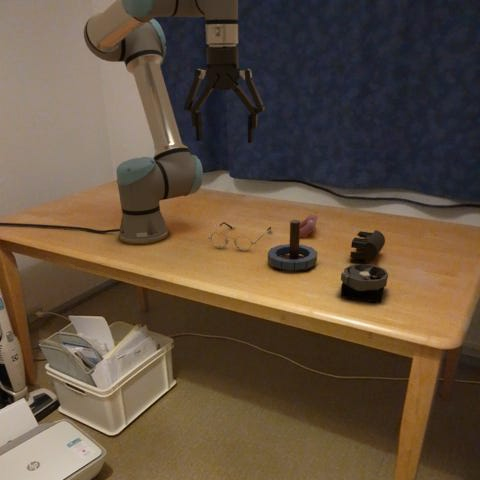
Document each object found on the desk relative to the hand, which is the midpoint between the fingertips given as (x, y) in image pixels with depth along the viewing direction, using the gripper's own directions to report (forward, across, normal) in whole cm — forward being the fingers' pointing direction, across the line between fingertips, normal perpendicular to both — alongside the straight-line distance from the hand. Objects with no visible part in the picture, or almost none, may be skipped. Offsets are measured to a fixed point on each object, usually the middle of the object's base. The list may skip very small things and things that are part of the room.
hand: (224, 141), depth 123 cm
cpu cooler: (+30, +39, -19) cm, 52 cm away
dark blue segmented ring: (+29, +20, -4) cm, 36 cm away
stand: (+30, +20, -5) cm, 37 cm away
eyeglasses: (+31, +1, +11) cm, 33 cm away
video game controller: (+31, +20, +20) cm, 42 cm away
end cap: (+30, +39, +3) cm, 50 cm away
